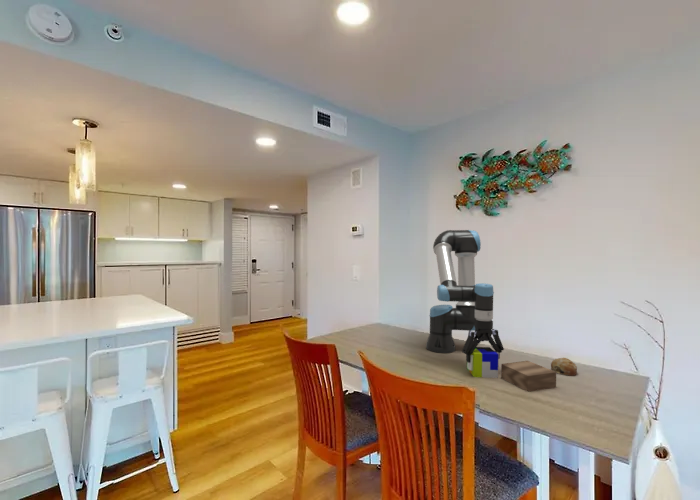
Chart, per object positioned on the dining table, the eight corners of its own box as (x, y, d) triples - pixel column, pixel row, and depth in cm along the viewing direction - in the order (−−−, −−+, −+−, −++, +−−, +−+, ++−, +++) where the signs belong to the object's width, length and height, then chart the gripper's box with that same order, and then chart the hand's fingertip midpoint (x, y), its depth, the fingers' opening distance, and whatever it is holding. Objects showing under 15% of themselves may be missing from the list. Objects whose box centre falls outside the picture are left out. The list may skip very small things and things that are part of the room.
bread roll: (549, 378, 153) (547, 364, 150) (554, 363, 159) (552, 350, 157) (575, 385, 146) (574, 370, 143) (579, 369, 153) (578, 354, 150)
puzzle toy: (498, 377, 144) (498, 354, 144) (473, 377, 144) (474, 353, 144) (489, 369, 154) (489, 347, 154) (466, 368, 154) (467, 346, 154)
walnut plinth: (501, 378, 143) (501, 363, 143) (527, 374, 148) (527, 360, 148) (528, 391, 130) (528, 375, 130) (556, 387, 134) (556, 372, 134)
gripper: (464, 322, 141) (464, 374, 141) (513, 319, 149) (512, 368, 149) (454, 319, 148) (453, 367, 148) (500, 316, 156) (499, 362, 156)
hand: (482, 368), depth 149 cm, fingers open, 13 cm apart
